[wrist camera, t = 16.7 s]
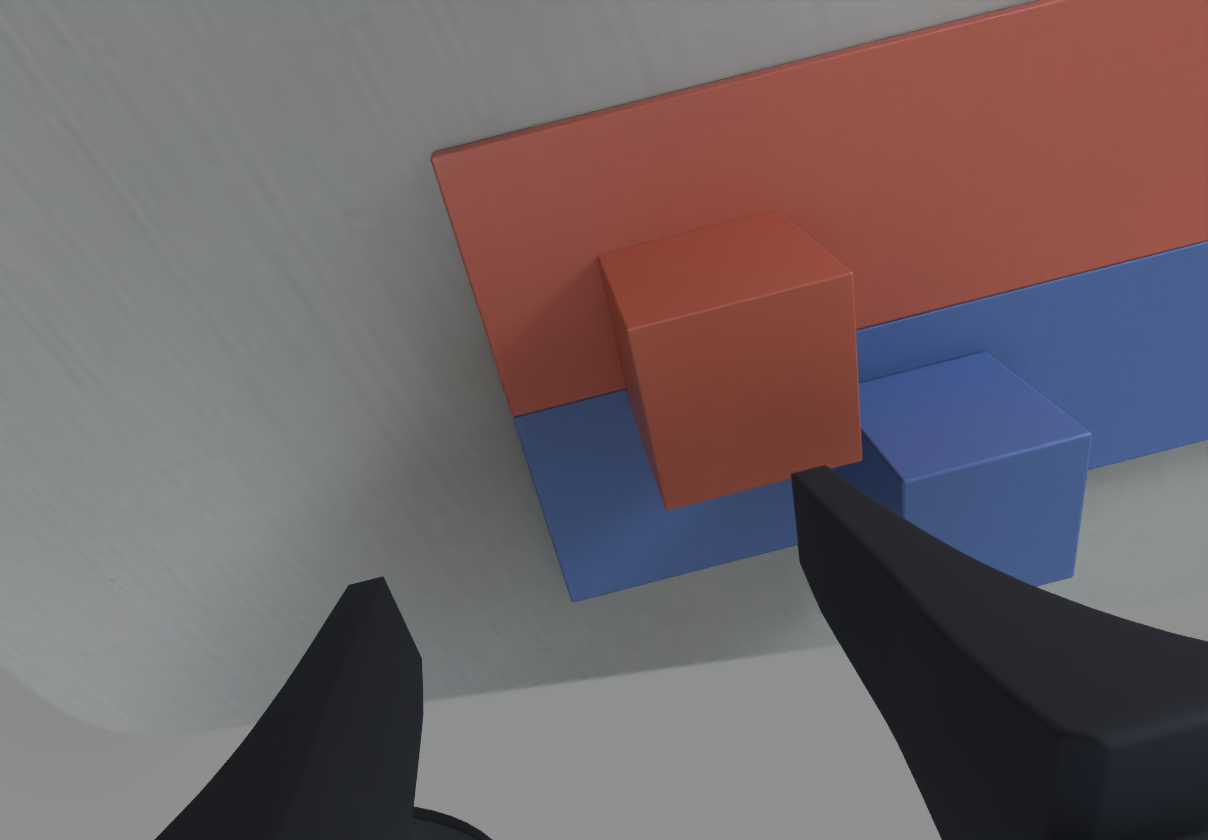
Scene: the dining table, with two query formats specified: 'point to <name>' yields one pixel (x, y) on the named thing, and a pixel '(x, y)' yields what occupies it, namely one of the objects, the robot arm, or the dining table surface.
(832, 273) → the red block
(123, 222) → the dining table surface
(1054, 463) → the blue block
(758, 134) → the board
